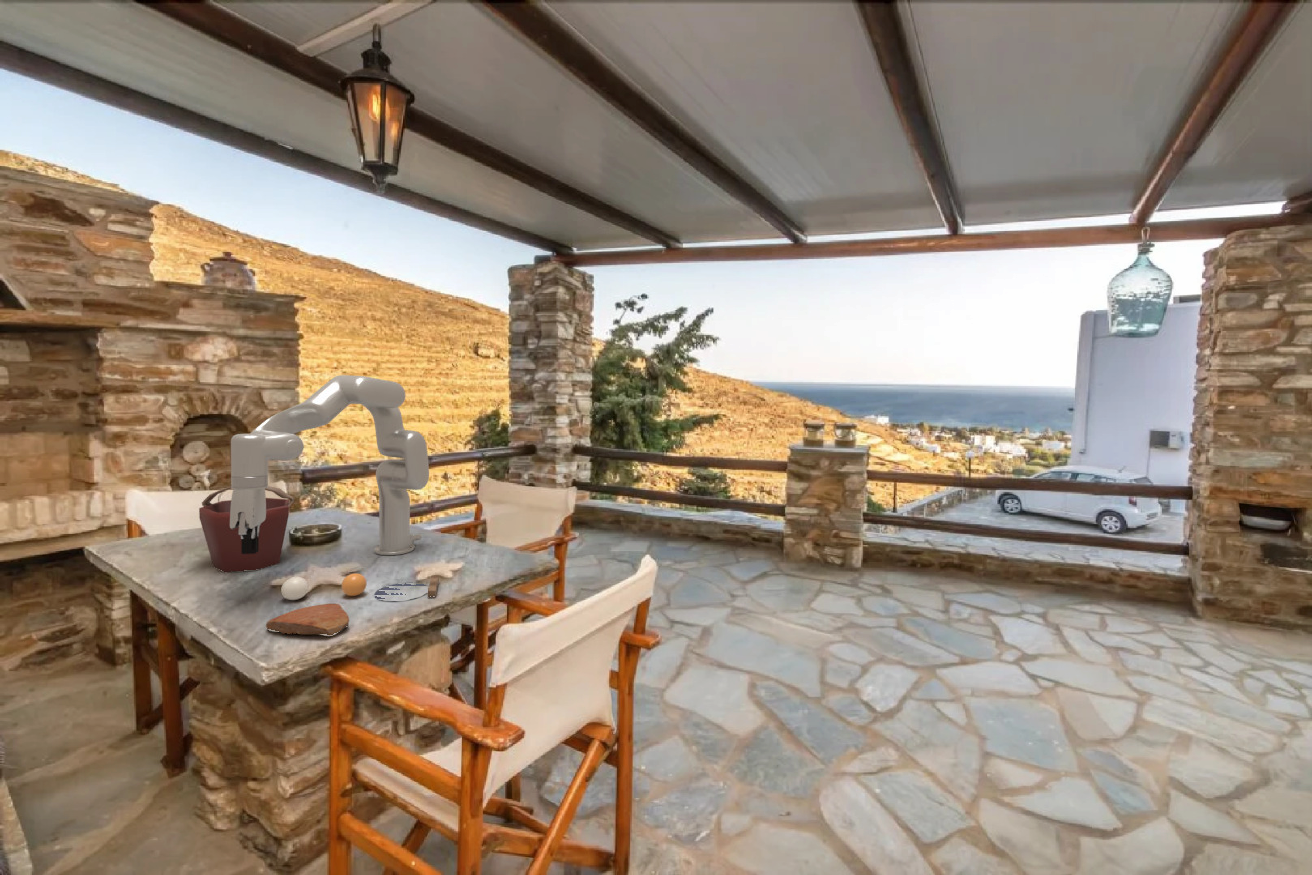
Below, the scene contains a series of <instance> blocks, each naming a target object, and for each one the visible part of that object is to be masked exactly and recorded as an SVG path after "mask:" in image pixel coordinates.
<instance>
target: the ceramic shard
mask: <svg viewBox="0 0 1312 875" xmlns="http://www.w3.org/2000/svg"><path fill="white" fill-rule="evenodd" d="M349 622H350V618H349V615H348V613H347V611H345V610H344V609H343V607H342V605H341V604H339V603H324V604H317V605H316V604H315V605H309V606H305V607H301V608H297V609H294V610H290V611H288V612H286V613H283V614H279V615H278V616H276V617H274V618H272V619H270V620H268V621H267V622H266V623H265V627H266V630H267V629H271V630H275V631H279V632H282V633H281V634H285V633H287V635H295V634H296V633H297V634H298V635H318V634H327V635H333V634H334V633H337V632H339V631H341V630H342V629H344V628H345V627H346V626H348V627H349ZM345 629H346V628H345ZM345 629H344V630H345ZM342 631H343V630H342ZM342 631H341V632H342ZM292 633H293V634H292Z"/></svg>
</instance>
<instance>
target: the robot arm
mask: <svg viewBox="0 0 1312 875" xmlns="http://www.w3.org/2000/svg"><path fill="white" fill-rule="evenodd" d="M405 400H406V391H405V389H404V387H403V386H402V384H400V383H399V382H396V381H392V380H391V381H390V380H385V379H381V378H375V377H370V376H367V375H366V376H364V375H350V374H349V375H348V374H342V375H337V376H336V375H335V376H334V377H333V378H331V379H330V380H328V382H326V383H325V384H324V385H322V386H321V387H320V388H319V389H317V390H316V391H315V392H314V393H313V394H312V395H310V396H309V397H308V398H307V399H306V400H304V401H303V402H301V403H299V404H295V405H293V406H291V407H289V408H287V409H284V410H282V411H279V412H278V413H276V414H274V415H271V416H270V417H269V418H267V419H266V420H264V421H263V422H261V423H260V424H259V425H258V426H257V427H255V428H254V429H253V430H252V431H251V432H250V433H238V434H234V435H233V436H232V437H231V439H230V456H231V457H230V474H231V476H230V484H231V486H230V487H231V490H232V494H231V498H230V499H231V510H230V528H231V529H235V528H237V527H239V533H238V534H239V535H241V553H242V554H255V553H257V552H258V551H259V537H256V536H259V526H260V525H261V523H262V522H263V521H265V519H266V498H267V497H266V490H265V488H268V486H269V461H282V462H285V461H292V460H295V459H296V458H298V457H299V456H301V454H302V453H303V451H304V446H305V445H304V442H303V440H302V439H301V437H300V436H298V435H297V433H300V432H302V431H306V430H307V431H308V430H311V429H316V428H321V427H323V426H326V425H328V424H330V423H331V422H332V421H333V420H334V419H335V418H336V417H338V415H340V413H341V412H343V411H344V410H345V409H346V408H347V407H348V406H350V405H353V404H355V405H361V406H363V407H364V408H365V409H367V410H368V412H369V413H370V414H371V416H372V418H373V423H374V430H375V437H376V439H375V440H376V446H377V450H378V452H379V454H380V455H381V456H384V457H389V458H397V459H387V460H384V461H382V462H380V464H378V466H377V467H376V470H375V479H376V483H377V488H378V499H379V500H378V503H379V509H378V512H379V513H378V514H379V515H378V517H379V520H378V526H379V531H378V532H379V533H378V534H379V535H378V537H379V539H378V540H379V541H378V543H379V544H378V545H377V546H375V547H374V549H373V552H374V554H376V555H381V556H399V555H403V554H407V553H411V552H413V550H415V544H414V542H415V541H419V540H421V539H422V535H421V534H420V533H419V534H415V535H413V534H411V530H410V529H411V523H410V522H411V520H410V518H411V500H410V495H409V492H408V490H411V491H419V490H422V489H424V488H425V487H426V486H427V484H428V483H429V479H430V467H429V465H430V464H429V457H428V456H429V455H428V454H429V453H428V446H427V441H426V438H424V436H423V435H422V433H420V432H419V431H417V430H416V431H415V430H411V429H410V430H409V429H405V428H404V424H403V423H404V422H403V416H402V412H401V410H400V408H399V407H401V406H402V405H403V403H405ZM398 458H399V459H398ZM402 459H404V460H402Z"/></svg>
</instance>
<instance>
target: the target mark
mask: <svg viewBox="0 0 1312 875" xmlns="http://www.w3.org/2000/svg"><path fill="white" fill-rule="evenodd" d="M404 583H405V584H404V585H402V584H398V583H393V584H389V585H388V586H428V585H427V584H424V583H421V584H416V585H411V584H406V583H407V582H404ZM379 590H400V589H397V588H395V589H394V588H389V587H386V586H383V587H380V588H379V589H377V590H376V591H375V593H374V594H373V595H389V594H387V593H385V591H379ZM391 595H399V594H398V593H396V594H394V593H391ZM400 595H403V594H402V593H400ZM405 595H406V594H405ZM374 598H375V599H376V598H377V599H376V600H378V599H385V598H381V597H377V596H375V597H374Z"/></svg>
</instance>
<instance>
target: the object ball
mask: <svg viewBox="0 0 1312 875" xmlns="http://www.w3.org/2000/svg"><path fill="white" fill-rule="evenodd" d="M367 584H368V582H367V578H366V577H365V576H363V575H362V574H360V573H350V574H348V575H347V576H346V577H345V578H343V580H342V582H341V590H342V592H343V593H344V594H345V595H346V596H348V597H356V596H359V595H361V594H362V593H363V592H364V591H365V590H366V588H367Z"/></svg>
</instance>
